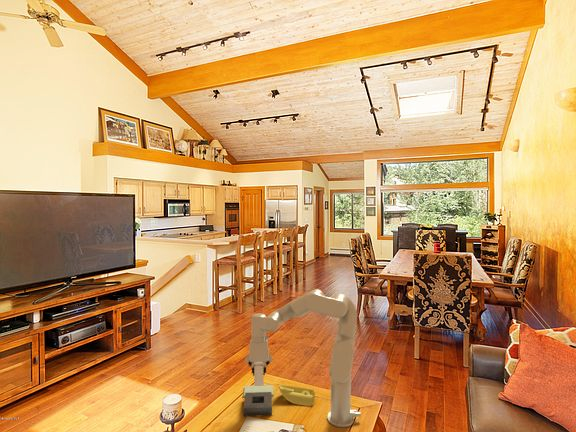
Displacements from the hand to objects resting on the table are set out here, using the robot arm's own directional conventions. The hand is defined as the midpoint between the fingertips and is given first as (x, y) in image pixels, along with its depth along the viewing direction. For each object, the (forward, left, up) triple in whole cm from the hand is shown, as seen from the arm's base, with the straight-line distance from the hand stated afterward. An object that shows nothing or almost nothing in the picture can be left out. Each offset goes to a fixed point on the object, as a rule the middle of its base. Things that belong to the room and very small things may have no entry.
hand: (259, 373), depth 168 cm
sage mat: (0, -15, -17) cm, 23 cm away
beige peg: (0, 0, -5) cm, 5 cm away
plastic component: (-20, -8, -18) cm, 28 cm away
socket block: (0, 0, -17) cm, 17 cm away
